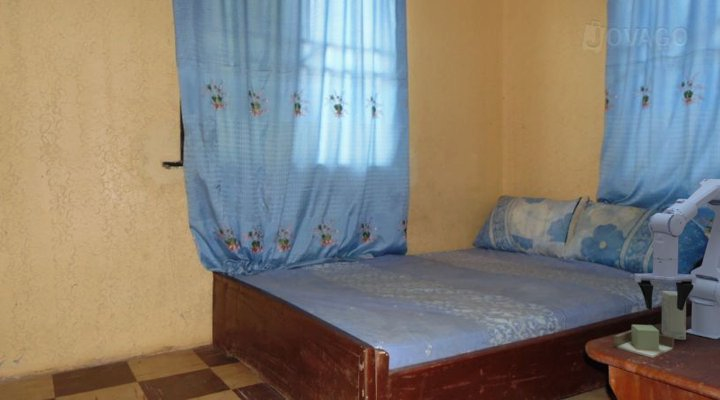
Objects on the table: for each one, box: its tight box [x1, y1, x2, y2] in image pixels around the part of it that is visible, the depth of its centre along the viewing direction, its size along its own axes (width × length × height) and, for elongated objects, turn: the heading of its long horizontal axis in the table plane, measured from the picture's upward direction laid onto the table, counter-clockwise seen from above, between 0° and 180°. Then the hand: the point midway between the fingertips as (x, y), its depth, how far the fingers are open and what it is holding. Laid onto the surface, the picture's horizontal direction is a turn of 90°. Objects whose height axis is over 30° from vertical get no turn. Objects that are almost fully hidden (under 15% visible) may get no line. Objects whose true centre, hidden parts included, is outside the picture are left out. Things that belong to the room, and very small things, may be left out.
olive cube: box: [630, 324, 660, 350], centre depth 140 cm, size 5×5×5 cm
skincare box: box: [661, 290, 687, 341], centre depth 149 cm, size 6×4×12 cm
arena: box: [613, 329, 675, 358], centre depth 140 cm, size 11×10×3 cm
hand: (664, 309), depth 143 cm, fingers open, 7 cm apart
